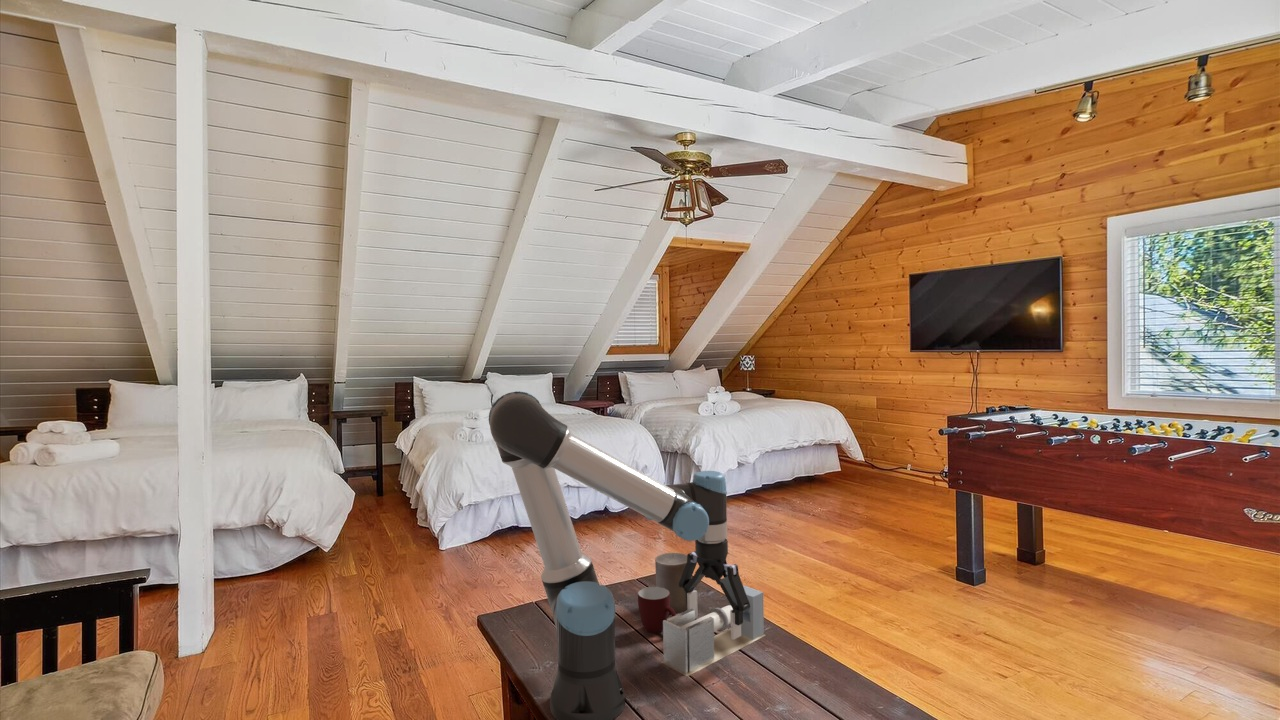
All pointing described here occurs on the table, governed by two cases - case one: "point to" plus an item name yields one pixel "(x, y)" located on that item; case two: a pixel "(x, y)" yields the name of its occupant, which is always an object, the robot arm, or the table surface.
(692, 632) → the grey u-shaped bracket
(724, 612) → the slip tube
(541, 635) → the table surface
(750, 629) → the socket block
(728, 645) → the base board
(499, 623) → the table surface
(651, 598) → the mug
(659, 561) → the pillar candle
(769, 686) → the table surface
